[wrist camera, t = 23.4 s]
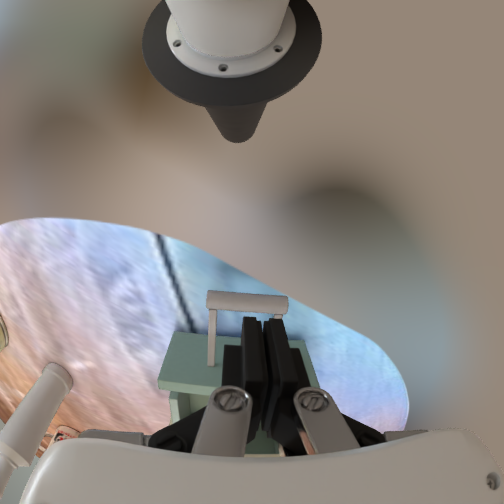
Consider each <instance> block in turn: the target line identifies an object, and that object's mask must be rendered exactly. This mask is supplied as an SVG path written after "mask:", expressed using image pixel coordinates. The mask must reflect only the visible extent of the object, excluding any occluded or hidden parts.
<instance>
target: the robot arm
mask: <svg viewBox="0 0 504 504" xmlns="http://www.w3.org/2000/svg"><path fill="white" fill-rule="evenodd" d="M166 2H167V5H168V7H169V9H170V11H171V13H172V14H171V16H170V18H169V21H168V23H167V31H166V34H167V41H168V44H169V46H170V49H171V50H172V52H173V54H174V55H175V57H176V58H177V59H178V60H179V61H180V62H181V63H182V64H184V65H185V66H187V67H188V68H190V69H191V70H193V71H196V72H198V73H200V74H204V75H208V76H212V77H220V78H236V77H243V76H248V75H252V74H255V73H258V72H261V71H264V70H265V69H267V68H269V67H271V66H273V65H274V64H275V63H277V62H278V61H279V60H280V59H282V58H283V56H284V55H285V54H286V53H287V52H288V50H289V48H290V46H291V45H292V43H293V40H294V37H295V33H296V22H295V17H294V15H293V13H292V10H291V8H290V7H289V6H288V3H289V0H166ZM178 45H180V46H179V47H177V46H178ZM275 50H278V51H279V52H275ZM222 69H226V71H224V72H222V71H221V70H222ZM260 420H261V429H262V431H266V433H267V438H272V439H273V440H275V441H276V442H278V450H279V453H280V456H281V457H244V454H245V448H246V445H247V444H248V443H250V442H251V441H252V440H254V439H255V436H256V431H258V429H259V425H260ZM19 504H504V474H503V472H502V470H501V468H500V466H499V465H498V463H497V461H496V460H495V458H494V456H493V455H492V454H491V452H490V450H489V449H488V448H487V446H486V445H485V444H484V442H483V441H482V440H481V439H480V438H479V437H478V436H477V435H476V434H475V433H474V432H472V431H470V430H467V429H461V428H447V429H438V430H433V431H427V430H413V431H387V432H384V434H381V433H380V432H378V431H377V430H375V429H373V428H371V427H369V426H366V425H364V424H362V423H360V422H358V421H356V420H354V419H352V418H350V417H348V416H346V415H344V414H342V413H341V412H340V411H339V409H338V407H337V405H336V404H335V402H334V400H333V398H332V397H331V396H330V394H329V393H328V392H326V391H325V390H323V389H320V388H317V387H311V384H310V381H309V378H308V374H307V371H306V368H305V365H304V361H303V358H302V355H301V352H300V349H299V348H290V346H289V342H288V338H287V335H286V331H285V327H284V323H283V320H282V319H276V318H269V321H264V325H263V332H262V325H261V321H257V320H256V317H243V324H242V334H241V343H240V345H228V344H224V354H223V368H222V383H221V387H219V388H216V389H215V390H214V391H213V392H212V393H211V395H210V397H209V400H208V403H207V406H205V407H203V408H201V409H200V410H198V411H196V412H194V413H192V414H190V415H189V416H187V417H185V418H183V419H181V420H179V421H177V422H175V423H173V424H171V425H169V426H167V427H165V428H163V429H161V430H159V431H157V432H156V433H154V434H153V435H144V434H143V433H139V432H119V431H106V430H96V429H90V430H86V431H83V432H82V433H81V434H80V435H79V436H78V438H72V439H65V440H61V441H58V442H56V443H54V444H53V445H51V446H50V447H49V448H48V449H47V450H46V451H45V452H44V454H43V455H42V456H41V458H40V459H39V461H38V463H37V464H36V466H35V468H34V470H33V472H32V474H31V476H30V478H29V480H28V482H27V485H26V487H25V489H24V491H23V494H22V497H21V500H20V503H19Z"/></svg>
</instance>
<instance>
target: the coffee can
mask: <svg viewBox="0 0 504 504" xmlns="http://www.w3.org/2000/svg"><path fill="white" fill-rule="evenodd" d="M7 344H8V334H7V330H6V327H5V325H4V322H3V320H2V318H1V316H0V352H1V351H2V350H3V348H4V347H6V346H7Z"/></svg>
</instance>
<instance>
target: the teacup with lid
mask: <svg viewBox="0 0 504 504" xmlns="http://www.w3.org/2000/svg"><path fill="white" fill-rule="evenodd" d="M80 434H81V433H79V432H78V431H76V430H74V429H72V428H70V427H67V426H59V427H58V428H57V430H56V432H55V434H54V435H53V434H51V433H48V432H46V433H45V435H44V437H45V436H48V437H51V438H52V440H51V442H50V444H49V446H48V448H49V447H50V446H51V445H53V444H54V443H56V442H58V441H61V440H65V439H72V438H78V436H79V435H80ZM39 448H40V449H41V450H42V451H44V452H45V451H46V450H47V449H48V448H47V449H45V448H43V447H42V446H41V445H40V446H39ZM43 454H44V453H43Z"/></svg>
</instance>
